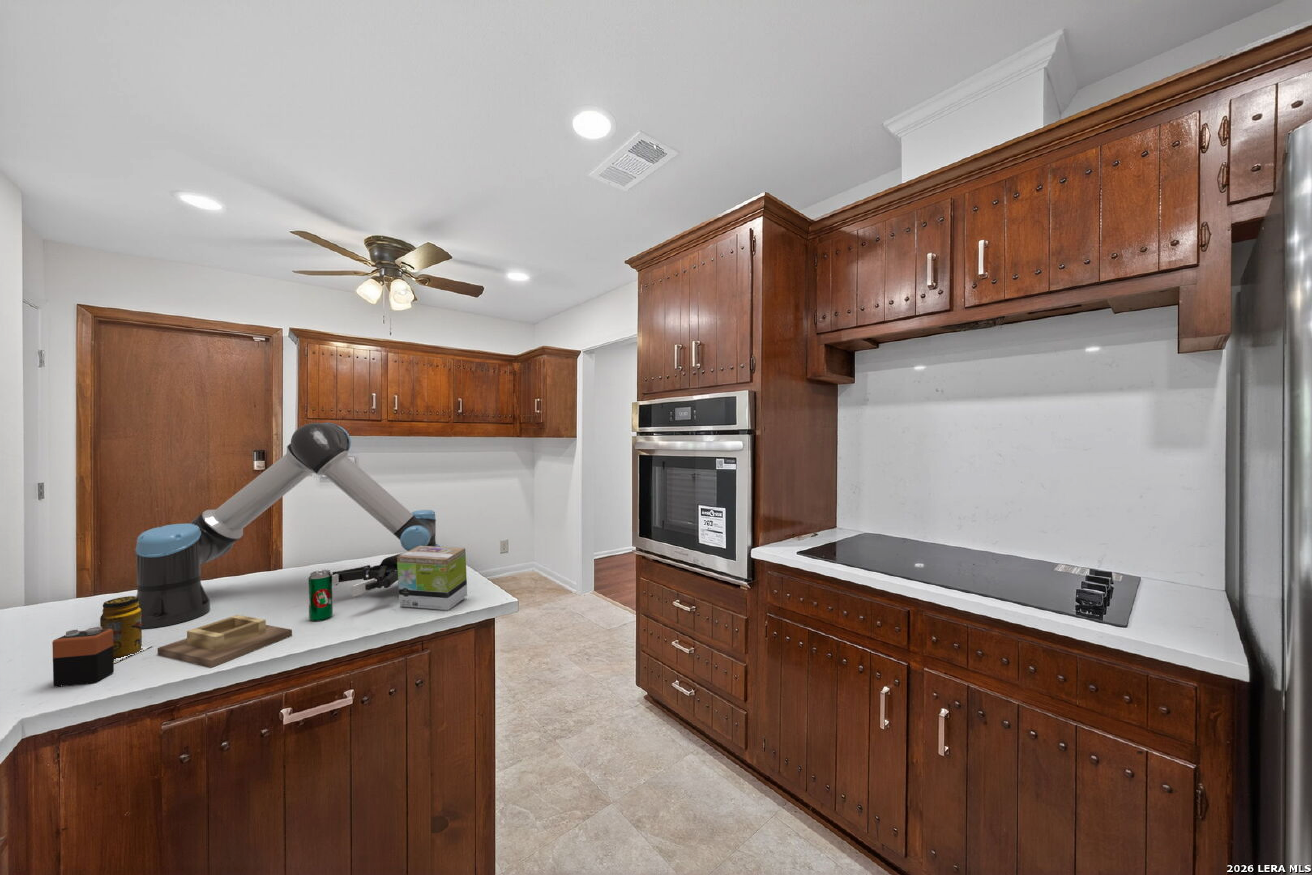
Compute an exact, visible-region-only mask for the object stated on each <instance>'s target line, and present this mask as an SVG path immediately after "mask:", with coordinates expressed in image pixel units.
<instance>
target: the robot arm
mask: <svg viewBox="0 0 1312 875" xmlns="http://www.w3.org/2000/svg"><path fill="white" fill-rule="evenodd" d="M351 441H352V440H351V437H350V434H349V432H347V430H346V429H345V428H343V427H342V426H340V425H337V424H335V423H332V422H324V423H323V422H310V423H306V424H303V425H302V426H300V427H298V428H297V429H296V430H295V431H294V432H293V434H292V436H291V439H290V443H289V444H288V445H287V446H286V454H284V455H283V456H282V457H281V458H279V459H278V460H277V461H276V462H274V463H273V464H271V465H270V466H269V467H268V468H267V469H265V470H264V471H263V472H262V473H260V474H259V475H258V476H256V477H255V478H254V479H253V480H252V481H250V482H248V484H246V485H245V486H244V487H243V488H241V489H240V490H239V491H238V492H236V493H235V494H234V495H232V496H231V497H230V498H228V499H227V500H226V501H225V502H223V503H222V504H220V506H219V507H217V508H216V509H207V510H204V511H203V512H201V513H200V514H199V515H198V516H196V517H195V518H194V519H193V520H192V521H191V522H188V523H174V524H167V525H162V526H158V527H153V528H151V529H150V528H149V529H147V530H146V531H143V532H141V533H140V534H139V535H138V537H137V538H136V546H135V554H136V556H135V558H136V585H137V589H136V590H137V593H136V597H138V599H139V600H138V604H139V606H138V607H139V608H140V609H141V613H142V614H141V626H142V628H141V629H152V628H159V627H160V628H161V627H165V626H172V625H176V624H180V623H184V622H188V621H191V620H194V619H196V618H200V617H202V616H204V615H205V614H207V613H209V612H210V611H211V602H210V598H209V597H208V594H207V593H206V591H205V588H204V587H203V585H202V581H201V566H202V565H204V564H206V563H208V562H211V561H213V560H216V559H218V558H220V557H222V556H224V555H225V554H226V553H227V552H229V551H230V549H231V548H233V546H234V544H235V543H236V542H237V541H238V540H240V539H241V538H242V537H243V535H244V528H245V527H247V526H248V525H249V524H251V523H252V522H253V521H254V520H256V519H258V517H259V516H261V514H263V513H264V512H265V511H266V510H268V509H269V508H270V507H271V506H273V505H274V504H275V503H277V501H279V500H280V499H281V498H282V497H283V496H285V495H286V494H287V493H289V492H290V491H291V490H292V489H294V488H295V487H296V486H297V485H298V484H299V483H301V482H303V481H304V479H305V478H307V477H308V476H310V475H311V474H316V475H317V476H324V477H325V478H327V479H328V480H329V481H330V482H332V483H333V484H334V485H335V486H336V487H337V488H338V489H340V490H341V491H342V492H343V493H345V495H347V496H348V497H349V498H350V499H352V500H353V501H354V502H355V503H356V504H357V505H358V506H359V507H361V508H362V509H363V510H364V511H365V512H366V513H368V514H369V515H370V516H371V517H372V518H374V519H375V520H376V521H377V522H378V523H380V524H381V525H382V526H383V527H384V528H385V529H386V530H388V531H389V532H390V533H391V534H393V536H395V537H396V539H398V540H399V542H400V544H401V546H402V548H403V549H404V550H405V551H404V552H400V553H397V554H395V555H392V556H388V557H386V558H384V559H382V561H381V562H380V564H378V565H373V566H371V565H369V564H366V565H363V566H360V567H354V568H348V569H344V570H339V571H338V570H337V571H333V572H332V573H331V574H332V587H333V586H338V585H339V583H344V582H352V581H358V580H363V581H362V582H359V583H357V584H354V585H351V597H356V596H359V595H361V594H365V593H367V592H370V591H373V590H375V589H381V588H384V589H388V588H390V587H391V586H392V585H393V584H395V583H396V582H398V568H397V556H400V555H402V554H404V553H406V552H408V551H410V550H412V549H414V548H415V547H417V546H435V547H441V546H440V545H439V544H437V541H436V532H437V530H436V528H437V527H436V526H437V525H436V522H437V520H436V512H435V511H434V510H432V509H419V510H414V511H412V512H411V511H409V510H408V509H407V508H406V507H405V506H404V505H403V504H402V503H400V502H399V501H398V500H397V499H396V498H395V497H394V496H393V495H391V494H390V492H388V491H387V490H386V489H385V488H383V486H382V485H380V484H379V482H377V481H376V480H375V479H374V478H372V477H371V476H370V475H369V474H367V472H366V471H364V470H363V469H362V468H361V467H360V466H359V465H358V464H356V463H355V462H354V461H353V460H352V459H351V458H349V457H348V452H349V451H350V449H351V445H352V444H351V443H352V442H351Z"/></svg>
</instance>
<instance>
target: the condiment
mask: <svg viewBox="0 0 1312 875" xmlns="http://www.w3.org/2000/svg"><path fill="white" fill-rule="evenodd" d="M136 596H137V595H136ZM136 596H134V595H132V596H129V595H128V596H121V597H117V598H112V599H110V600H107V601H106V600H105V601H104V602H103V603H102V608H103V609H102V614H101V615H100V617H99V627H102V629H113V653H114V659H116V658H121V657H124V656H128V655H130V654H135V653H136V655H138V654H140V653H141V652H139V651H140V650H143V648H141V646H142V645H143V632H142V629H143V628H142V626H141V614H142V613H141V609H140V608H139V607H138V606H139V604H138V600H139V599H138V597H136ZM141 628H142V629H141ZM146 650H148V649H145V651H146ZM137 652H139V653H138V654H137ZM127 658H129V657H127ZM127 658H122V659H123V660H126V659H127ZM118 662H121V661H120V660H117V661H116V660H115V662H114V663H115V664H116V663H118Z"/></svg>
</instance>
